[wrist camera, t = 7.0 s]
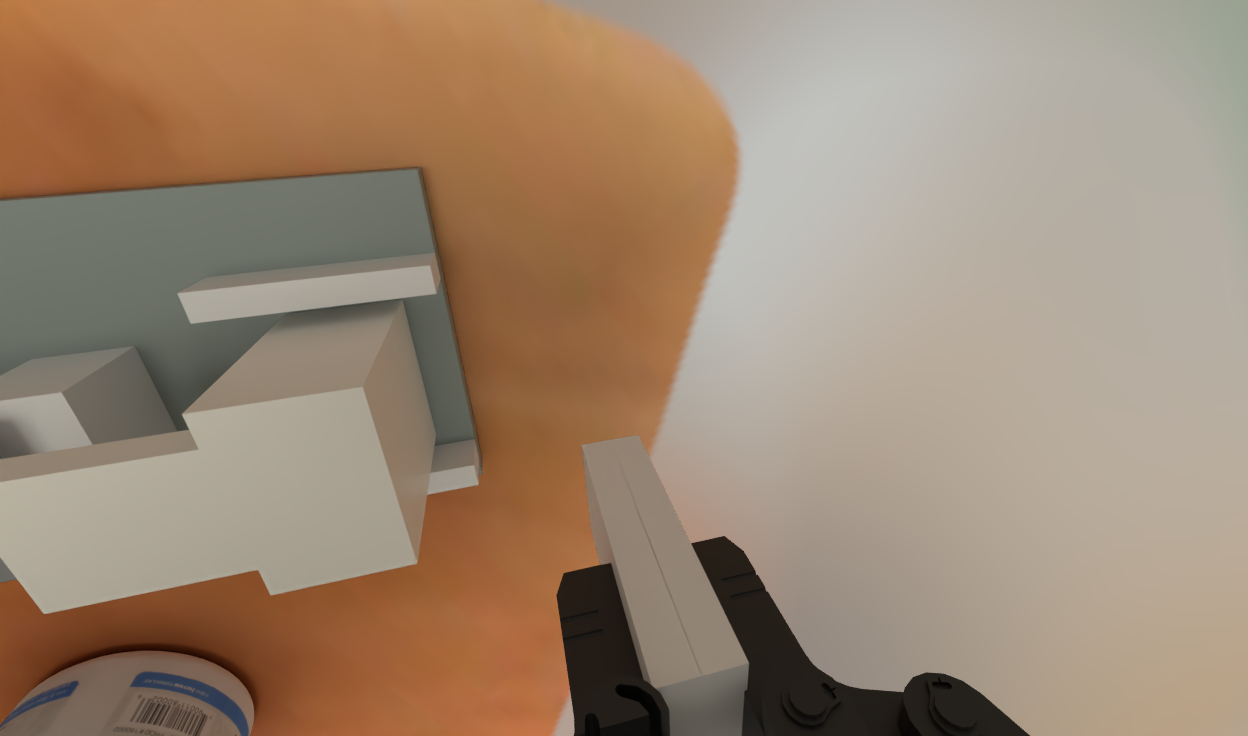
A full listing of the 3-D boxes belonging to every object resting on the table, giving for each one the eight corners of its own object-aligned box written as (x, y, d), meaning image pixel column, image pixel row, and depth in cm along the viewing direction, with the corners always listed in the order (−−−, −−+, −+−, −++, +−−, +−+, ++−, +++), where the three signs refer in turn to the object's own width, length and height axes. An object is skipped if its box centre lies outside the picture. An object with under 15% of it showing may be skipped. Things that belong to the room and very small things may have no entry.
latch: (198, 475, 20) (64, 640, 14) (127, 333, 18) (-80, 453, 11) (436, 434, 22) (417, 563, 16) (402, 299, 20) (362, 386, 13)
